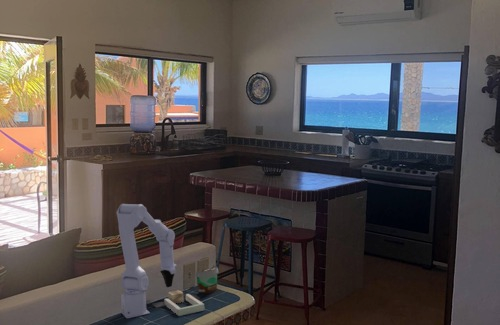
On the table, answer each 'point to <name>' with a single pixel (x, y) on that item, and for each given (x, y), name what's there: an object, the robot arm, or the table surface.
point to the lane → (179, 311)
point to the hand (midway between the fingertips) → (168, 286)
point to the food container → (207, 280)
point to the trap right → (195, 296)
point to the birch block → (176, 296)
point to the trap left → (159, 304)
